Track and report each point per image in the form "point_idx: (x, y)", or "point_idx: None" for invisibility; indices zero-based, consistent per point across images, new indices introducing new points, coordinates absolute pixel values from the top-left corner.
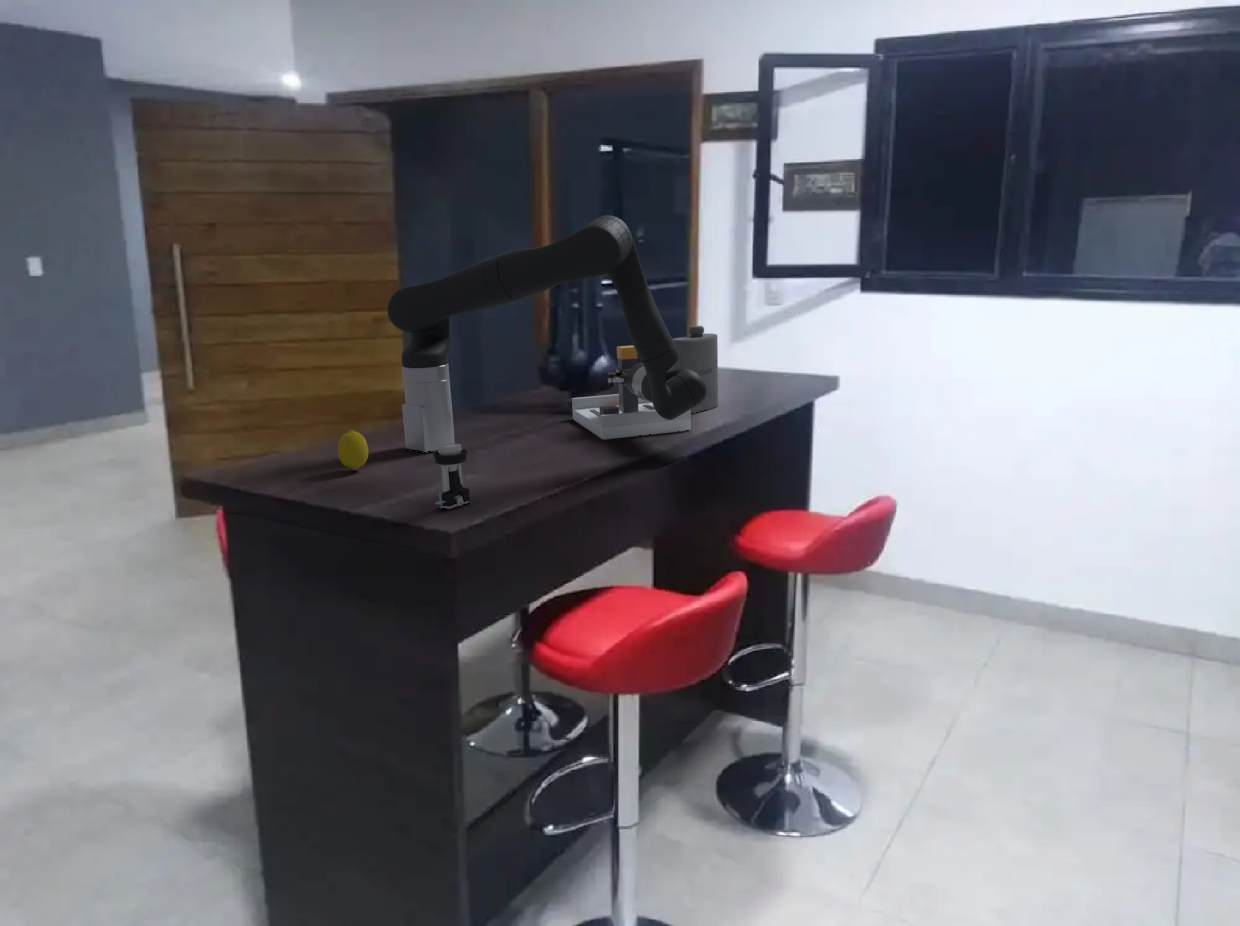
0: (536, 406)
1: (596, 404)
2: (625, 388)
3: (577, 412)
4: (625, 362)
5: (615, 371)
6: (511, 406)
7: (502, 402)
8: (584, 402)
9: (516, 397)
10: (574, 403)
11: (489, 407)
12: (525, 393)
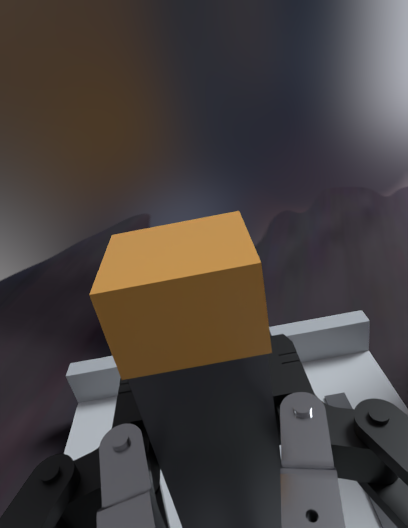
0: (93, 283)
1: None
2: (199, 519)
3: (66, 446)
4: (166, 390)
5: (126, 404)
6: (54, 279)
7: (61, 256)
8: (110, 380)
9: (101, 235)
10: (74, 387)
11: (18, 281)
12: (126, 219)
